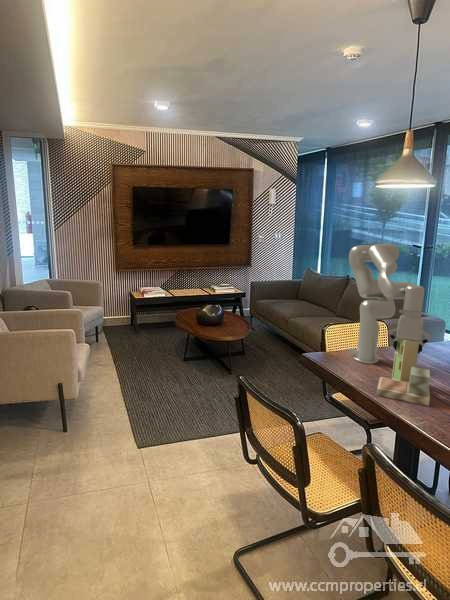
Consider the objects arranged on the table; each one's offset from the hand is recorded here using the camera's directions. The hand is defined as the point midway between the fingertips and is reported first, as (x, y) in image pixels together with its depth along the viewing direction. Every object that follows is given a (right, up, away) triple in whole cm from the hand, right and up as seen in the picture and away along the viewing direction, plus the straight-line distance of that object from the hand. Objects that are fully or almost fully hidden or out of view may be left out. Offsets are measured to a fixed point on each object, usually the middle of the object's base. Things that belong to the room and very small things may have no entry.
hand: (407, 351), depth 188 cm
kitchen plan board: (-5, -17, -8) cm, 20 cm away
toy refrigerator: (-1, -15, +4) cm, 15 cm away
